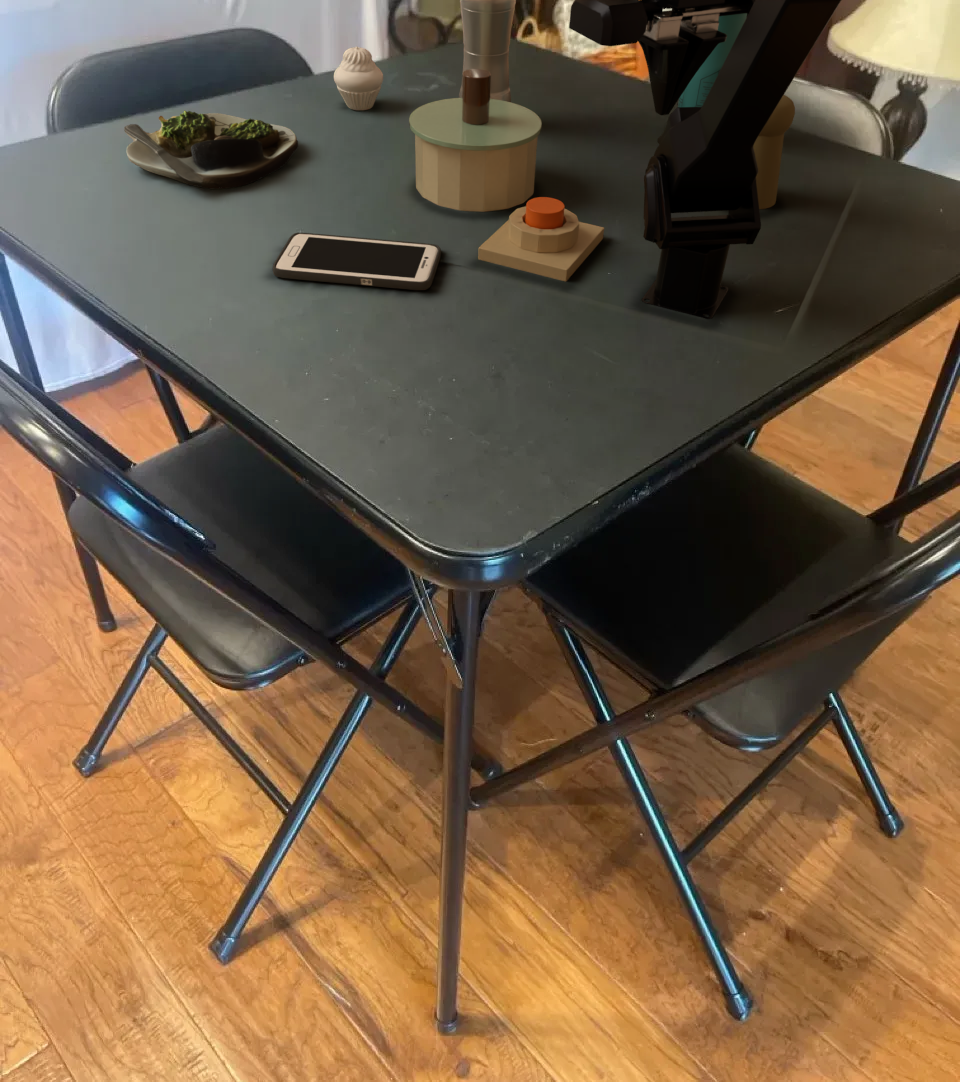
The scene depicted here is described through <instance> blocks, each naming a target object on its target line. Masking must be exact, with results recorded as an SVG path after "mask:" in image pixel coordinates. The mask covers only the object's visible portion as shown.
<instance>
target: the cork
mask: <svg viewBox="0 0 960 1082" xmlns="http://www.w3.org/2000/svg"><path fill="white" fill-rule="evenodd" d="M795 114H796V107H795V104H794V101H793V100H792V98H790V97H789V96H788V95H786V94H784V95H783V97H782V98H781V100H780V102H779V103H778V105H777V107H776V108H775V110H774V112H773V113H772V115H771V116H770V118H769V120H768V121H767V123H766V125H765V126H764V128H763V130H762V131H761V133H760V134H759V136H758V138H757V139H756V141H755V143H754V146H753V148H754V153H755V157H756V162H757V167H758V174H757V176H756V184H757V193H758V202H759V210H766V209H769V208H772V207H773V206H774V205H775V204H776V201H777V196H778V195H777V194H778V188H779V181H780V180H779V179H780V171H781V165H782V164H781V163H782V154H783V146H784V138H785V133H786V132H787V131H788V130H789V129H790V127H791V126H792V124H793V121H794V119H795Z"/></svg>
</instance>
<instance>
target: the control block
mask: <svg viewBox="0 0 960 1082" xmlns="http://www.w3.org/2000/svg"><path fill="white" fill-rule="evenodd" d="M508 216H509V217H508V220H507V221H505V223H504V224H502V225H501V226H500V227H499V228H498V229H497V230H496V231H495V232H494V233H493V234H492V235H490V237H488V239H486V240H485V241H484V242H483V243H482V244H481V245H480V246H479V247H478V254H477V259H478V260H479V261H483V262H487V263H491V264H495V265H499V266H503V267H506V268H511V269H514V270H519V271H523V272H527V273H530V274H534V275H538V276H542V277H546V278H549V279H550V278H551V279H554V280H558V281H562V282H567V281H568V280H569V279H570V278H571V276H573V274H574V273H575V272H576V271H577V270H578V269H579V268H580V266H581V265H582V264H583V263H584V262H585V260H586V259H587V258H588V257H589V255H591V254H592V252H593V251H594V250H595V249H596V247H597V246H598V245H599V244H600V243H601V242H602V240H603V239H604V234H605V233H604V232H605V227H603V226H600V225H599V226H598V225H595V224H591V223H587V222H582V221H580V220H579V219H578V216H577V214H575V213H573V212H572V211H570V210H568V209H567V208H564V218H563V225H562V227H559V228H556V229H538V228H533V227H530V226H528V225H527V224H526V223H525V217H526V205H525V206H522V207H518V208H516V209H515V210H514V211H513V212H512V213H511V214H510V215H508Z"/></svg>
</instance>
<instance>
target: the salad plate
mask: <svg viewBox="0 0 960 1082" xmlns="http://www.w3.org/2000/svg"><path fill="white" fill-rule="evenodd" d="M158 120H159V122H160V124H161V127H160V128H159V129H158V130H155V131H153V132H147V131H145V130H144V129H143V128H142V127H141V126H140V125H139V124H137V123H130V124H127V125H126V126H124V127H123V130H124V131H123V132H124V133H125V134H126V135H127V136H128V137H130V139H132V142H131V143H129V144H128V145H127V147H126V155H127V159H128V160H129V162H130V163H132V164H134V165H136V166H137V167H139V168H141V169H143V170H145V171H148V172H150V173H153V174H156V175H159V176H162V177H166V178H169V179H171V180H175V181H178V182H181V183H183V184H186V185H190V186H194V187H198V188H203V189H211V190H212V189H214V190H216V189H217V190H220V189H222V190H223V189H231V188H239V187H242V186H246V185H250V184H253V183H254V182H257V181H259V180H260V179H264V178H265V177H266V176H268V175H271V174H272V173H274V172H276V171H278V170H280V169H281V168H283V167H284V166H285V165H287V163H288V162H289V161H290V159H291V158H292V156H293V155H294V153H295V152H296V151H297V149H298V147H299V141H298V138H297V135H296V134H295V133H294V131H293V130H292V129H290V128H288V127H286V126H284V125H283V126H282V125H278V124H273V123H268V122H264V121H263V120H261V119H254V118H251V117H250V118H249V119H246V118H243V117H238V116H235V115H229V114H225V113H220V112H219V113H217V112H211V113H208V112H207V113H198V112H195V111H191V110H187V111H186V110H183V112H182V113H179V115H173V116H171V117H170V118H167V119H166V118H164V116H163V115H160V116H159V117H158Z"/></svg>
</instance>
